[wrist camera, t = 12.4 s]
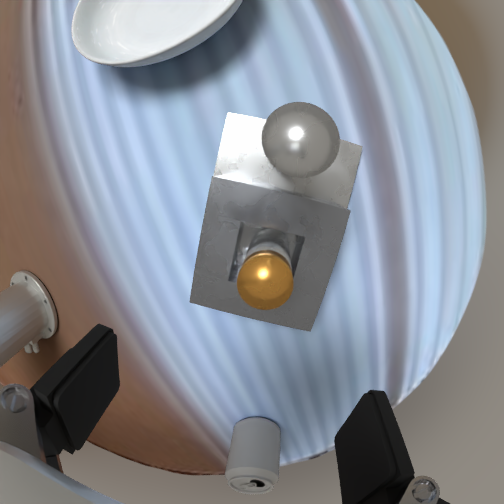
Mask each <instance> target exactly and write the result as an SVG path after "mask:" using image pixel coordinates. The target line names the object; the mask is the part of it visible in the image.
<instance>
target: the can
mask: <svg viewBox="0 0 504 504" xmlns="http://www.w3.org/2000/svg"><path fill="white" fill-rule="evenodd" d="M279 461H280V428H279V427H278V426H277V425H276V424H275V423H273V422H272V421H270V420H268V419H265V418H262V417H250V418H247V419H244V420H241V421H239V422H238V423H236V425H235V426H234V429H233V435H232V440H231V445H230V450H229V455H228V461H227V466H226V471H225V477H226V479H227V480H228V486H229V487H230V488H232V489H233V490H235V491H238V492H241V493H246V494H263V493H267V492H269V491H271V490H272V489H273V487H274V486H273V485H274V484H275V483H277V482H278V479H279Z"/></svg>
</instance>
